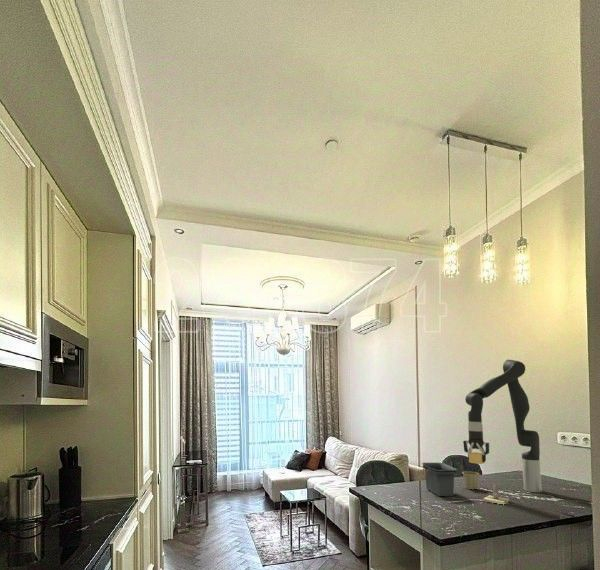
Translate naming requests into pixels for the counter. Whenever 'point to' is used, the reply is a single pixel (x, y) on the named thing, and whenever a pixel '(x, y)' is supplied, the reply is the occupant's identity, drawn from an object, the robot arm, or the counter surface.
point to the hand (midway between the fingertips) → (477, 461)
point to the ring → (475, 458)
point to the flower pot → (471, 479)
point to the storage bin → (439, 478)
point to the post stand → (496, 497)
